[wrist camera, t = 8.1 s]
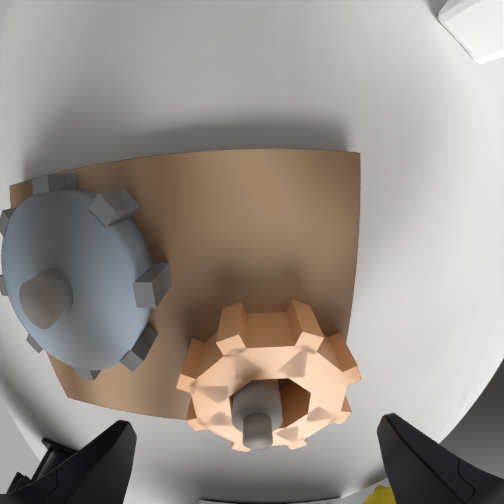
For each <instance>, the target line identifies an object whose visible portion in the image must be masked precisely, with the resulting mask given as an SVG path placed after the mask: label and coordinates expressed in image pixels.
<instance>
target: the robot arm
mask: <svg viewBox="0 0 504 504" xmlns="http://www.w3.org/2000/svg"><path fill="white" fill-rule="evenodd" d="M377 435H378V440H379V444H380V449H381V454H382V459H383V463H384V467H385V470H386V473H387V476H388V479H389V482H390V485H391V488H392V492H393V495H394V498H395V501H396V504H504V479H502V478H499V477H497V476H494V475H491V474H490V473H487V472H485V471H483V470H481V469H479V468H477V467H475V466H473V465H471V464H469V463H467V462H466V461H464V460H463V459H461V458H458V457H457V456H456V455H455V454H453V453H452V452H450V451H449V450H447V449H446V448H444V447H442V446H441V445H440V444H438V443H437V442H435V441H434V440H432V439H431V438H429V437H428V436H426V435H425V434H423V433H422V432H421V431H419V430H418V429H416V428H415V427H413V426H412V425H411V424H409V423H408V422H406V421H405V420H403V419H402V418H401V417H399V416H398V415H396V414H395V413H390V414H386V415H384V416H383V417H382V419H381V421H380V424H379V426H378V428H377ZM136 440H137V437H136V433H135V431H134V429H133V427H132V425H131V423H130V422H128V421H124V420H118V421H117V422H115V423H114V424H113V425H111V426H110V427H109V428H108V429H106V430H105V431H104V432H103V433H101V434H100V435H99V436H97V437H96V438H95V439H94V440H92V441H91V442H90V443H88V444H87V445H86V446H84V447H83V448H82V449H81V450H79V451H78V452H76V451H73V450H70V449H68V448H65V447H63V446H60V445H58V444H56V443H53V442H51V441H49V440H47V439H45V438H43V439H42V443H43V444H44V445H45V446H46V448H47V449H48V450H47V452H46V454H45V456H44V457H43V459H42V461H41V463H40V465H39V466H38V468H37V470H36V472H35V474H34V475H33V477H32V479H31V480H30V478H28V477H27V476H23V475H22V474H21V473H19V472H17V473H16V475H15V477H14V479H13V481H12V482H11V484H10V486H9V488H8V490H7V493H6V494H0V504H123V501H124V497H125V494H126V490H127V486H128V483H129V479H130V475H131V471H132V465H133V459H134V452H135V446H136Z"/></svg>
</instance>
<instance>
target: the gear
mask: <svg viewBox="0 0 504 504" xmlns="http://www.w3.org/2000/svg"><path fill="white" fill-rule="evenodd" d="M282 378H289V379H291V380H292V381H293V382H292V383H290V384H289V385H288V386H286V387H285V388H284V389H282V390H281V391H279V393H280V401H281V409H282V417H283V421H282V424H281V426H280V427H279V428H278V429H276V430H275V431H273V432H272V434H273V444H272V445H271V446H276V445H287V446H288V447H289V448H290V450H293V449H296V448H299V447H303V446H306V445H307V441H306V438H307V437H309V436H311V435H313V434H314V433H316V432H317V431H319V430H321V429H322V428H324V427H325V426H327V425H329V424H330V423H338V424H342V423H343V422H344V421H345V420H346V419H347V418H348V416H349V415H350V414H351V413H352V411H351V409H350V406H349V404H348V401H347V398H346V396H345V393H346V389H347V385H350V384H352V383H354V382H356V381H359V380H361V376H360V373H359V369H358V366H357V364H356V362H355V360H354V358H353V356H352V354H351V352H350V350H349V349H348V347H347V345H346V343H345V341H344V339H343V337H342V335H341V334H340V332H339V333H336V334H334V335H332V336H330V337H326V336H325V335H324V334H323V333H322V331H321V329H320V327H319V324H318V322H317V320H316V318H315V315H314V313H313V311H312V309H311V306H310V305H307V304H304V303H301V302H298V301H295V300H291V303H290V305H289V307H288V309H287V311H286V312H272V313H247V312H246V310H245V308H244V307H243V305H242V303H241V302H238V303H236V304H233V305H231V306H228V307H226V308H223V309H222V313H221V318H220V323H219V328H218V331H217V332H216V333H215V334H214V335H213V336H212V337H211V338H210V339H209V340H207V341H206V342H202V341H199V340H196V339H193V338H192V340H191V343H190V346H189V349H188V352H187V355H186V358H185V361H184V364H183V367H182V370H181V373H180V377H179V380H178V383H177V386H176V388H177V389H180V390H183V391H186V392H189V393H191V400H190V404H189V408H188V412H187V416H186V420H185V421H186V422H187V423H188V424H189V425H190V426H191V427H192V428H193V429H194V430H195V431H200V430H205V429H208V430H210V431H212V432H214V433H216V434H217V435H219V436H221V437H223V438H225V439H227V440H229V441H232V442H231V449H234V450H239V451H244V452H248V451H249V450H250V449H249V448H247V447H245V446H244V445H243V432H240V431H239V430H237V429H236V428H235V427H234V426H233V424H232V409H233V394H234V393H235V392H237V391H238V390H239V389H241V388H242V387H243V386H245V385H246V384H248V383H249V382H250V381H252V380H262V379H282Z"/></svg>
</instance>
